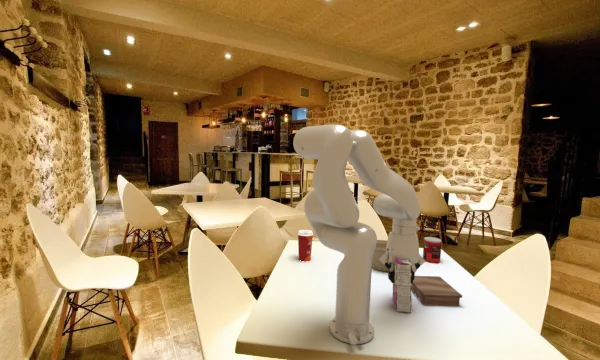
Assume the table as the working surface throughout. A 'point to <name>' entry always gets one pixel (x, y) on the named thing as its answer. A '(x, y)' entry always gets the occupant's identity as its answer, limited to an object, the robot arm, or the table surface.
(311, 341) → the table surface
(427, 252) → the canned food
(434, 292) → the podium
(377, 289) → the table surface
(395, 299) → the candy bar box
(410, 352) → the table surface
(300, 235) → the paper cup
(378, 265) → the planter bowl
